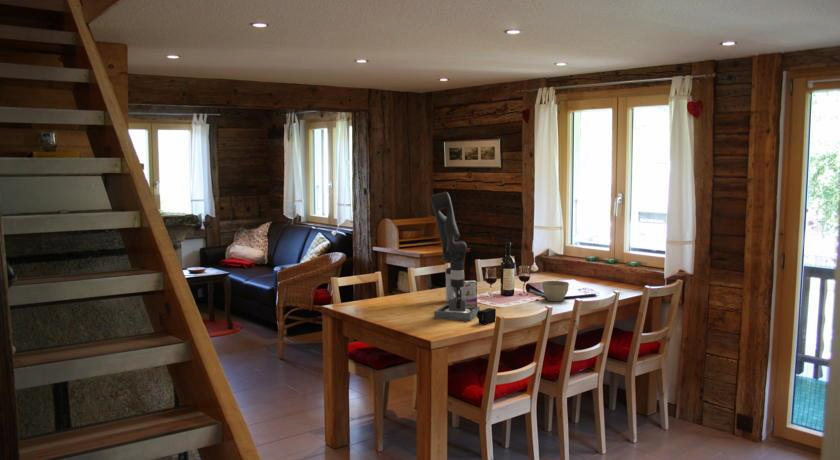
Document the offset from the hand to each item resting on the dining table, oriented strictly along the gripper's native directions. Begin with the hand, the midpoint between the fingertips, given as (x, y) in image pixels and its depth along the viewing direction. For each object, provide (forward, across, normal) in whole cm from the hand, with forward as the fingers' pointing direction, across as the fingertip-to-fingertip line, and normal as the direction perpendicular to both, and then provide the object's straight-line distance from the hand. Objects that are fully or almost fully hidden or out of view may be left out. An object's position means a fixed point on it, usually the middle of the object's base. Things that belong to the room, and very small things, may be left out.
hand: (457, 307), depth 382 cm
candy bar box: (+5, -17, +8) cm, 20 cm away
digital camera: (+5, +17, +13) cm, 22 cm away
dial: (+3, 0, 0) cm, 3 cm away
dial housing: (+5, 0, 0) cm, 5 cm away
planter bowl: (+5, -38, +66) cm, 76 cm away
